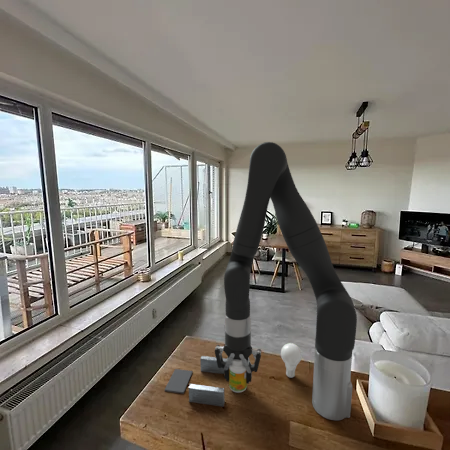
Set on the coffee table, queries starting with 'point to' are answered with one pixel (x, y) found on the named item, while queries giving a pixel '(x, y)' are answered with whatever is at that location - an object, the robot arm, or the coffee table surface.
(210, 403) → the grey bricks
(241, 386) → the supplement bottle
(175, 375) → the gray rectangular block
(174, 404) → the coffee table surface
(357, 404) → the coffee table surface
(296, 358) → the lightbulb
